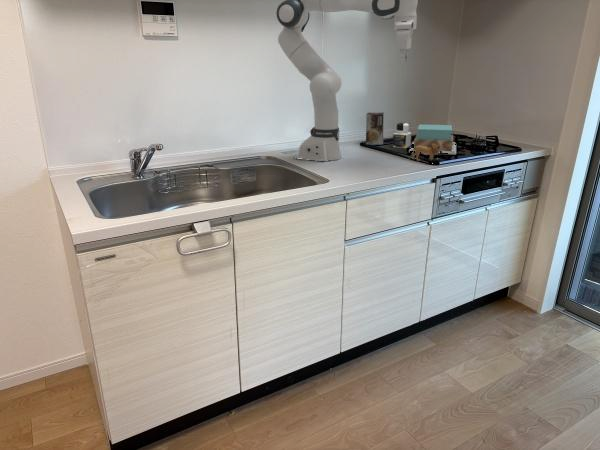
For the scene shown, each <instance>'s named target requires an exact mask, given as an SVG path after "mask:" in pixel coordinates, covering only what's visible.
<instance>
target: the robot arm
mask: <svg viewBox="0 0 600 450" xmlns="http://www.w3.org/2000/svg"><path fill="white" fill-rule="evenodd" d="M418 2H419V1H418V0H284V1H282V2H281V3H279V5H278V6H277V9H276V13H275V14H276V19H277V21H278V23H280V25H281V26H283V28H282V30H281V31H280V33H279V35H278V37H277V42H278V44H279V46H280V48H281V49H282V51H283V53H284V54H285V56H286V57H287V58H288V59H289V61H290V62H291V64H292V65H294V67H295V68H296V69H297V71H298V72H299V73H300V74H302V75H303V76H304V77H305V78H306V79H307V80H309V81H310V83H309V91H310V93H311V99H312V105H313V113H314V126H313V127H312V128H311V129H310V130H309V133H310V136H309V137H307V139H305V140H304V141H303V142H301V144H300V145H299V148H298V152H297V153H296V154H295V155H294V156H295V157H296V158H302V159H309V160H315V161H314V162H317V161H325V162H328V161H327V160H331V161H336V160H340V159H341V158H342V154H341V149H340V141H339V140H340V128H339V109H338V105H337V104H338V103H337V97H336V96H337V95H336V94H337V93H339V91H340V89H342V88H341V87H342V78H341V76H340V75H339V74H338V73H337V72H336V71H335V70H334V69H333V68H332V66H330V64H328V63H327V62H326V61H325V60H324V59H323V58H322V57H321V56H320V55H319V54H318V53H317V51H316V50H315V49H314V47H312V45H311V44H310V43H309V42H308V40H307V39H306V38H305V37H304V35H303V34H302V33H303V32H304V30H305V28H306V26H307V24H308V23H309V20H310V16H311V15H310V12H323V13H338V12H339V13H340V12H349V11H358V12H366V13H370V14H375V15H376V16H377V17H379V18H381V19H383V20H391V19H393V18H394V27H393V28H394V31H396V34H395V35H396V49H397V50H398V51H399V61H400V62H406V61H407V60H408V55H409V50H410V49H411V48H412V47H411V46H412V35H413V33H414V30H416V29H417V22H418V21H417V19H418V18H417V17H418V15H417V7H418Z"/></svg>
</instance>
